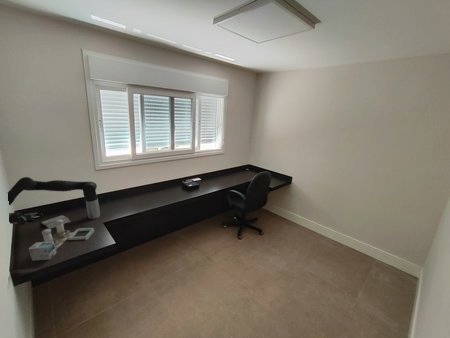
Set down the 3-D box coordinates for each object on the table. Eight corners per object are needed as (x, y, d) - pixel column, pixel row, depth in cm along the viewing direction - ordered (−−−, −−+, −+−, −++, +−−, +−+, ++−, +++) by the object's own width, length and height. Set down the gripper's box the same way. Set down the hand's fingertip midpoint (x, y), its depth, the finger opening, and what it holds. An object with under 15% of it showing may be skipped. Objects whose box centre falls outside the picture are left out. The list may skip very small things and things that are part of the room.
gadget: (73, 224, 169) (72, 221, 168) (51, 233, 156) (50, 229, 155) (62, 216, 181) (61, 213, 179) (41, 223, 168) (40, 220, 167)
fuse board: (57, 234, 154) (56, 230, 153) (73, 234, 156) (73, 229, 154) (36, 253, 134) (35, 248, 133) (56, 251, 136) (55, 247, 135)
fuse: (48, 244, 140) (44, 229, 136) (55, 244, 141) (52, 228, 137) (44, 249, 136) (39, 232, 132) (51, 248, 136) (47, 232, 133)
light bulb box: (57, 254, 134) (54, 240, 131) (50, 261, 127) (47, 247, 124) (39, 255, 132) (35, 241, 129) (31, 262, 125) (27, 248, 122)
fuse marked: (60, 234, 152) (57, 219, 149) (67, 233, 153) (64, 219, 149) (56, 237, 148) (53, 222, 144) (63, 237, 149) (60, 222, 145)
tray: (78, 232, 158) (77, 228, 157) (94, 231, 160) (93, 227, 159) (69, 241, 146) (68, 237, 145) (86, 240, 148) (85, 236, 147)
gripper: (2, 218, 134) (29, 218, 136) (19, 208, 147) (44, 208, 150) (5, 228, 136) (31, 227, 138) (22, 217, 149) (46, 217, 152)
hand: (38, 217), depth 144 cm, fingers open, 8 cm apart
